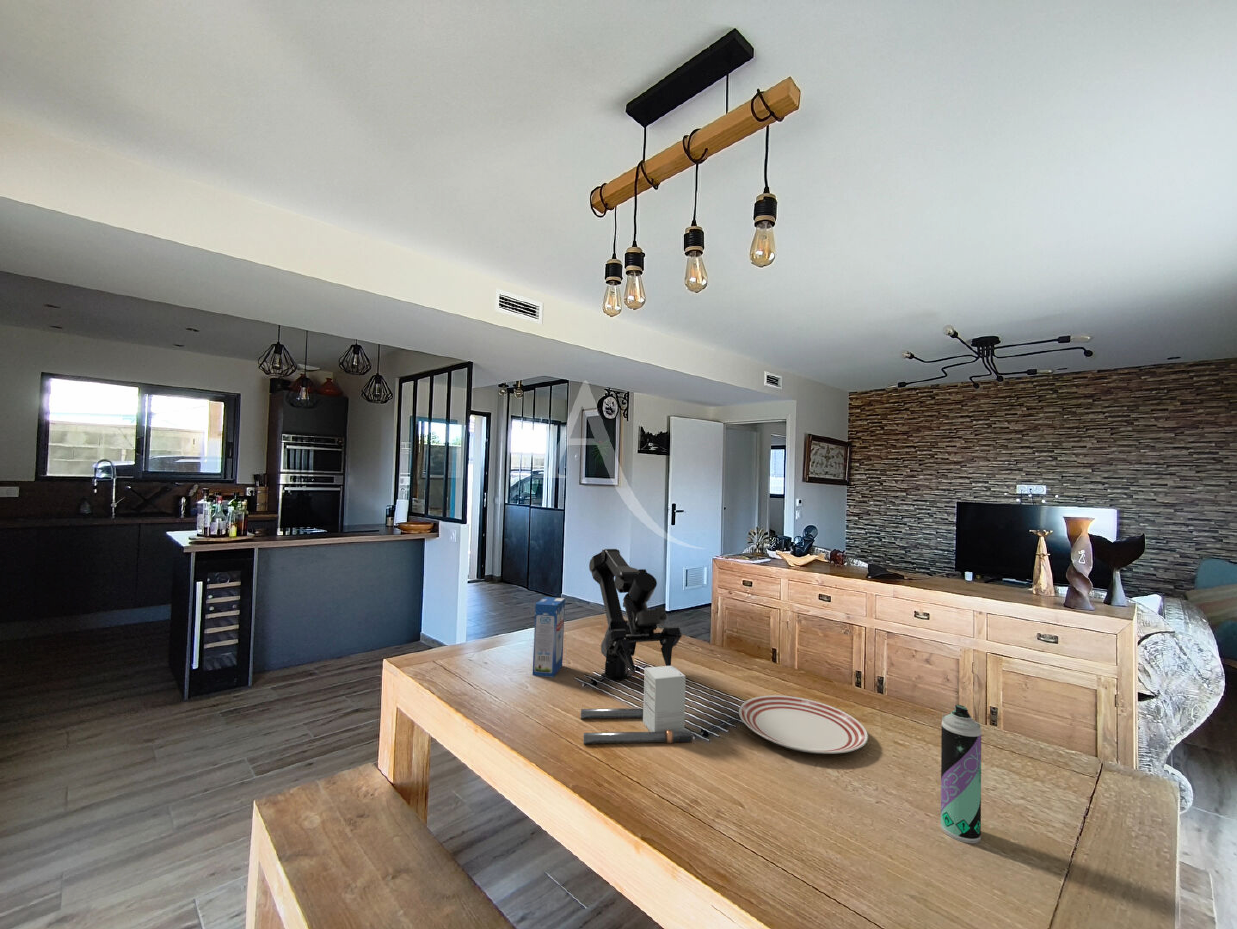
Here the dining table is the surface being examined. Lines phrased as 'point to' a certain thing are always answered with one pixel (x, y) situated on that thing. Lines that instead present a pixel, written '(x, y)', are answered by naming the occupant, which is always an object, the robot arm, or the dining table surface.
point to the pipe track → (629, 737)
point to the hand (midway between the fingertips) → (651, 670)
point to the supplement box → (664, 699)
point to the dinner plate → (803, 724)
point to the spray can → (961, 776)
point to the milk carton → (548, 636)
